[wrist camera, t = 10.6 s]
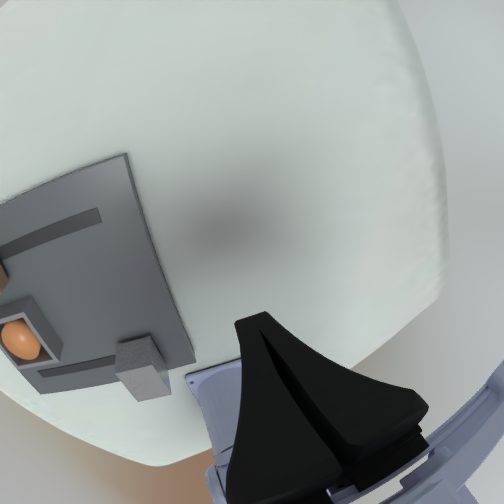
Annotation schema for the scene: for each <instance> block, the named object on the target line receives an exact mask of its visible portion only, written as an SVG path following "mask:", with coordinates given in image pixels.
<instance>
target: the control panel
mask: <svg viewBox="0 0 504 504" xmlns="http://www.w3.org/2000/svg"><path fill="white" fill-rule="evenodd" d="M0 264H1V266H2V268H3V270H4V272H5V274H6V276H7V278H8V280H9V282H8V284H7V285H6V287H5V289H4V290H3V292H2V294H1V295H0V349H1V350H2V351H3V353H4V354H5V355H6V356H7V358H8V359H9V360H10V361H11V363H12V364H13V365H14V366H15V367H16V368H17V370H18V371H19V372H20V373H21V374H22V375H23V376H24V377H25V378H26V380H27V381H28V382H29V383H30V384H31V385H32V386H33V387H34V388H35V389H36V390H37V391H38V392H39V393H40V394H48V393H56V392H63V391H69V390H76V389H82V388H87V387H93V386H99V385H104V384H109V383H114V382H119V381H120V379H119V378H118V377H117V375H116V374H115V360H116V345H118V344H122V343H125V342H129V341H133V340H137V339H141V338H145V337H149V336H150V337H151V339H152V341H153V343H154V344H155V346H156V348H157V350H158V352H159V353H160V355H161V357H162V359H163V361H164V362H165V364H166V366H167V369H168V370H170V369H174V368H177V367H181V366H185V365H188V364H192V363H196V359H195V355H194V350H193V348H192V346H191V344H190V341H189V339H188V337H187V334H186V332H185V330H184V327H183V325H182V322H181V320H180V317H179V315H178V313H177V310H176V308H175V305H174V302H173V300H172V297H171V295H170V292H169V289H168V287H167V284H166V281H165V279H164V276H163V273H162V270H161V268H160V265H159V262H158V259H157V256H156V253H155V250H154V247H153V245H152V242H151V238H150V235H149V232H148V229H147V226H146V223H145V220H144V216H143V213H142V210H141V206H140V203H139V200H138V196H137V193H136V189H135V185H134V182H133V178H132V174H131V171H130V167H129V163H128V159H127V155H126V153H125V154H122V155H119V156H116V157H113V158H110V159H107V160H104V161H101V162H98V163H95V164H93V165H90V166H87V167H84V168H82V169H79V170H77V171H74V172H72V173H69V174H67V175H64V176H62V177H59V178H57V179H55V180H52V181H50V182H48V183H45V184H43V185H41V186H39V187H36V188H34V189H32V190H30V191H28V192H26V193H24V194H22V195H20V196H18V197H16V198H14V199H12V200H10V201H8V202H6V203H4V204H2V205H0ZM22 317H23V318H24V320H25V321H26V323H27V324H28V326H29V327H30V329H31V330H32V332H33V333H34V334H35V336H36V337H37V339H38V340H39V341H40V343H41V348H40V351H39V355H38V356H37V357H36V358H35V359H32V360H26V359H22V358H19V357H17V356H16V355H14V354H13V353H11V352H10V351H9V350H8V349H7V347H6V346H5V345H4V343H3V341H2V337H1V333H2V330H3V328H4V326H5V323H6V322H9V321H12V320H16V319H19V318H22Z"/></svg>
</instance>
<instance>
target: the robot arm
mask: <svg viewBox="0 0 504 504" xmlns="http://www.w3.org/2000/svg"><path fill="white" fill-rule="evenodd" d="M234 325H235V328H236V332H237V336H238V340H239V344H240V352H241V359H239V360H236V361H233V362H230V363H227V364H223V365H220V366H217V367H214V368H210V369H207V370H203V371H200V372H196V373H193V374H189V375H187V376H185V380H186V383H187V384H188V386H189V388H190V389H191V391H192V393H193V395H194V396H195V398H196V400H197V401H198V403H199V404H200V406H201V408H202V412H203V416H204V419H205V423H206V426H207V430H208V433H209V437H210V440H211V443H212V447H213V449H214V453H215V455H214V459H215V462H216V466H217V467H216V466H215V465H210V466H209V467H208V469H207V471H206V473H205V475H206V480H207V484H208V487H209V491H210V494H211V497H212V499H213V502H214V504H349V503H351V502H353V501H355V500H357V499H358V498H360V497H362V496H364V495H366V494H368V493H369V492H371V491H373V490H375V489H376V488H378V487H379V486H381V485H383V484H385V483H386V482H388V481H389V480H391V479H392V478H394V477H395V476H397V475H398V474H400V473H401V472H403V471H404V470H406V469H407V468H409V467H410V466H412V465H413V464H414V463H416V462H417V461H418V460H420V459H421V458H422V457H424V456H425V455H426V454H428V453H429V454H428V460H427V461H425V462H424V463H423V464H421V465H420V466H419V467H417V468H416V469H415V470H413V471H412V472H411V473H409V474H408V475H406V476H405V477H404V478H402V479H401V480H400V483H401V485H402V486H403V489H401V490H400V491H398V492H397V493H395V494H394V495H392V496H391V497H389V498H387V499H386V500H384V501H382V502H381V503H379V504H478V502H477V501H476V499H475V498H474V497H473V495H472V494H471V492H470V491H469V490H468V488H467V487H466V486H465V483H466V481H467V480H468V479H469V478H470V477H471V476H472V474H474V472H475V471H476V470H477V469H478V468H479V467H480V465H481V464H482V463H483V461H484V460H485V459H486V458H487V457H488V455H489V454H490V453H491V451H492V450H493V449H494V447H495V446H496V445H497V443H498V442H499V440H500V439H501V438H502V436H503V435H504V360H503V361H502V363H501V364H500V365H499V366H498V367H497V368H496V370H495V371H494V372H493V373H492V375H491V376H490V377H489V378H488V380H487V381H486V383H485V384H484V385H483V387H482V388H481V389H480V390H479V391H478V392H477V393H476V394H475V395H474V396H473V397H472V398H471V399H470V400H469V401H468V402H467V403H466V404H465V405H464V406H462V407H461V408H460V409H459V410H458V411H457V412H456V413H455V414H454V415H453V416H452V417H450V418H449V419H448V420H447V421H446V422H445V423H444V424H442V425H441V426H440V427H439V428H438V429H436V430H435V431H434V432H433V433H431V434H430V435H429V436H428V437H426V438H425V439H424V438H423V436H422V435H421V434H420V433H421V432H422V429H421V428H420V426H419V425H418V423H419V422H420V421H421V420H422V418H423V417H424V416H425V415H426V413H427V411H428V408H429V406H428V405H427V403H426V402H425V401H424V400H423V399H422V398H421V397H420V395H418V394H417V393H416V392H415V391H414V390H412V389H407V388H403V387H398V386H394V385H390V384H387V383H384V382H380V381H377V380H374V379H371V378H369V377H366V376H363V375H361V374H359V373H356V372H353V371H351V370H349V369H347V368H345V367H343V366H341V365H339V364H337V363H335V362H333V361H331V360H330V359H328V358H326V357H324V356H323V355H321V354H319V353H318V352H316V351H315V350H313V349H312V348H310V347H309V346H307V345H306V344H304V343H303V342H302V341H300V340H299V339H298V338H296V337H295V336H294V335H293V334H291V333H290V332H289V331H288V330H286V329H285V328H284V327H283V326H282V325H281V324H279V323H278V322H277V321H276V320H275V319H274V318H273V317H272V316H271V315H270V314H269V313H268V312H266V311H264V312H261V313H258V314H255V315H252V316H249V317H246V318H243V319H240V320H237V321H236V322H235V323H234Z"/></svg>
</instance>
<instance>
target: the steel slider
mask: <svg viewBox="0 0 504 504" xmlns="http://www.w3.org/2000/svg"><path fill="white" fill-rule="evenodd" d="M115 374H116V375H117V377H118V378H119V379H120V381H121V382H122V383H123V384H124V386H125V387H126V388H127V389H128V390H129V392H130V393H131V394H132V395H133V397H134V398H135V399H136V400H137V401H138V402H139V401H144V400H149V399H153V398H158V397H162V396H166V395H171V388H170V382H169V376H168V369H167V366H166V364H165V362H164V361H163V359H162V357H161V355H160V353H159V352H158V350H157V348H156V346H155V344H154V343H153V341H152V339H151V337H150V336H149V337H145V338H141V339H137V340H133V341H129V342H125V343H122V344H118V345H116V360H115Z"/></svg>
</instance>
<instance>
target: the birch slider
mask: <svg viewBox="0 0 504 504" xmlns="http://www.w3.org/2000/svg"><path fill="white" fill-rule="evenodd" d="M8 282H9V280H8V278H7V276H6V274H5V272H4V270H3V268H2V266H1V264H0V295H1V294H2V292H3V290H4V289H5V287H6V285H7V284H8Z"/></svg>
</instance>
